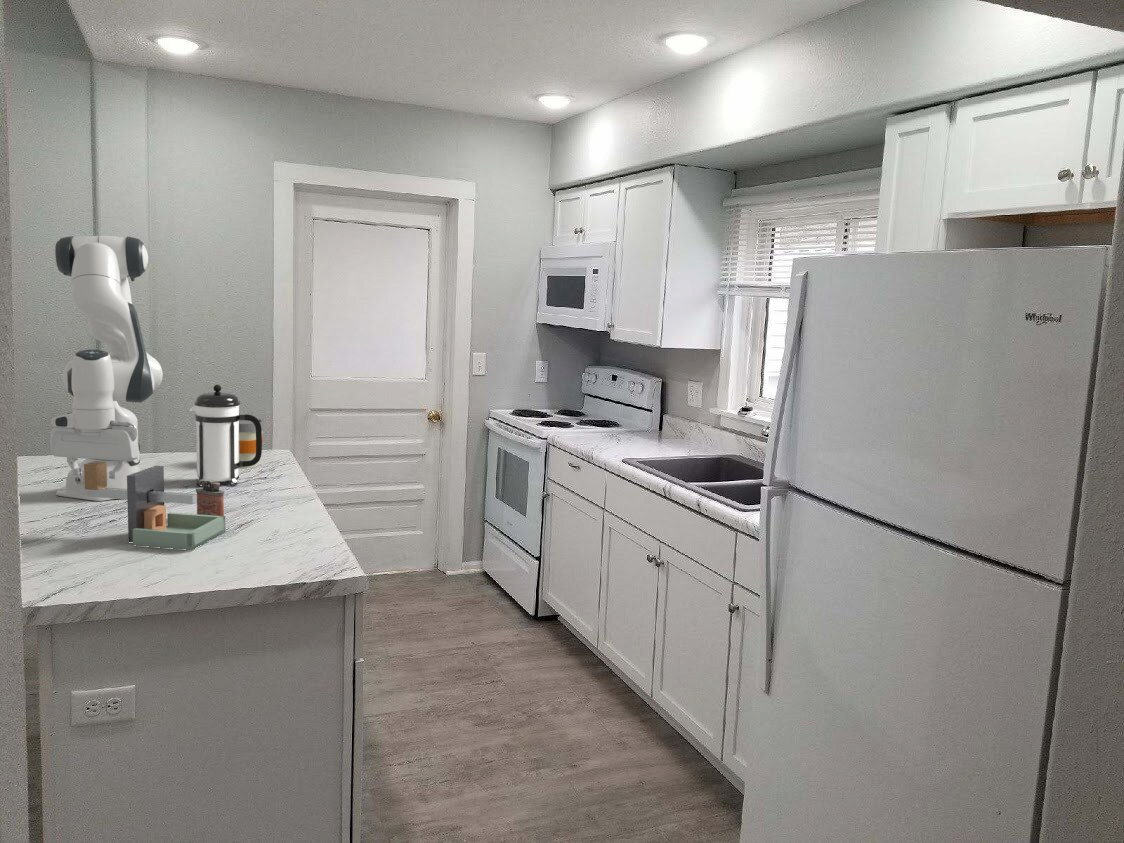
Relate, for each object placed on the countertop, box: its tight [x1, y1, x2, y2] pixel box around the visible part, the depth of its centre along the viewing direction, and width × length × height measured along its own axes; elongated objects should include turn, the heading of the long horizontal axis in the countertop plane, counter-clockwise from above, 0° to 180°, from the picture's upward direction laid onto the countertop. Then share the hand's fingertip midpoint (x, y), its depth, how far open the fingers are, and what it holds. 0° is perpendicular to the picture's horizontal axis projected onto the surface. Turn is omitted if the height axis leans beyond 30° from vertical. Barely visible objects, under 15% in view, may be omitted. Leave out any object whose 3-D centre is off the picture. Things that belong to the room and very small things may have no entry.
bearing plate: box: [126, 465, 165, 543], centre depth 207 cm, size 2×12×16 cm, turn 175°
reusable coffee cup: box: [239, 418, 265, 469], centre depth 290 cm, size 13×13×15 cm
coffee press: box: [189, 384, 263, 487], centre depth 264 cm, size 17×16×30 cm
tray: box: [132, 511, 226, 551], centre depth 207 cm, size 14×16×4 cm
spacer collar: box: [144, 505, 167, 530], centre depth 207 cm, size 2×6×6 cm, turn 175°
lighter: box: [195, 479, 225, 516], centre depth 226 cm, size 8×3×10 cm, turn 71°
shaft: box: [84, 461, 197, 505], centre depth 206 cm, size 26×4×8 cm, turn 85°
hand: (95, 477), depth 207 cm, fingers open, 8 cm apart
